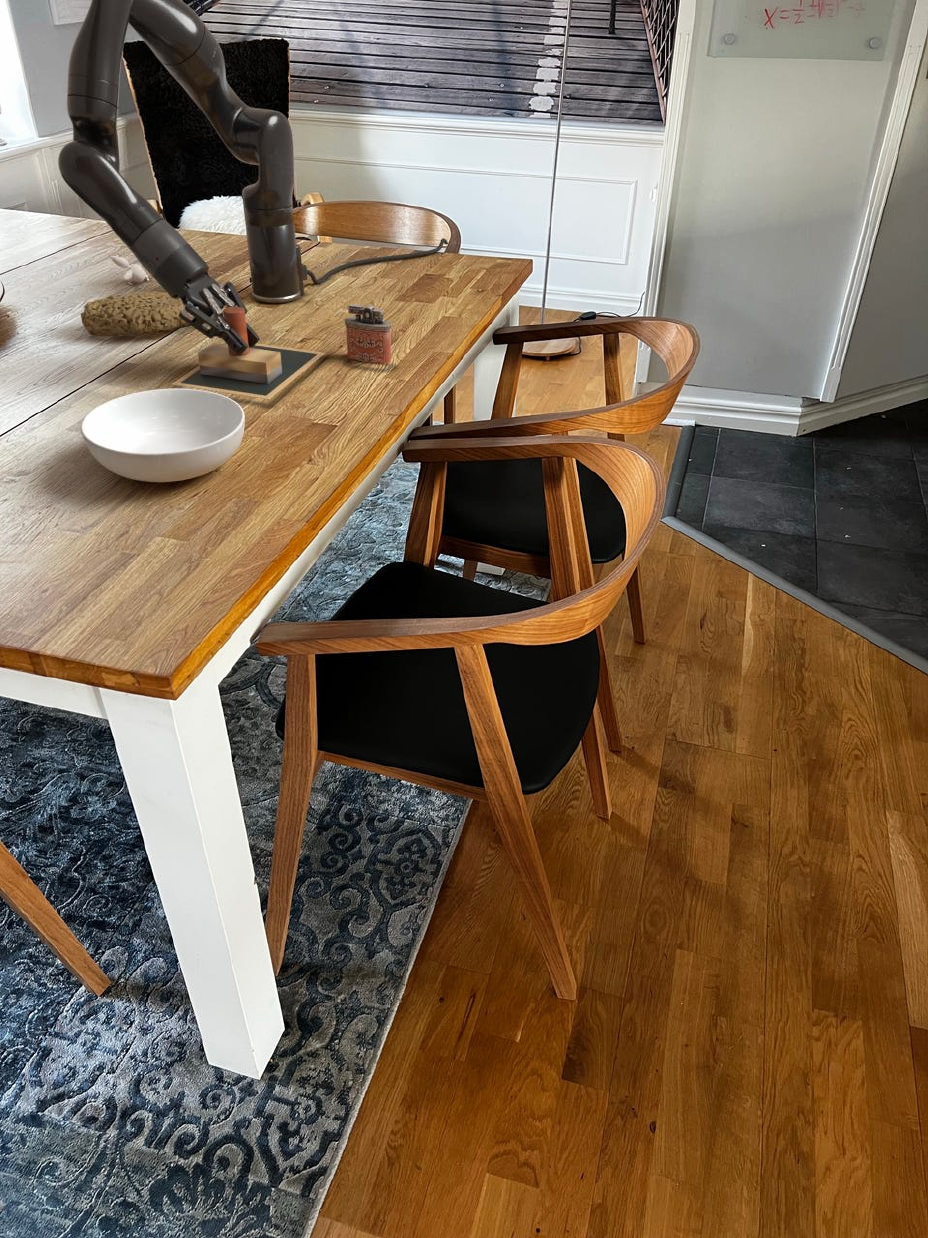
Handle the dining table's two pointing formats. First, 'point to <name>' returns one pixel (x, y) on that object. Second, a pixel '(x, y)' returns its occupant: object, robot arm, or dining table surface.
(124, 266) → the rabbit figurine
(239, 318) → the eraser
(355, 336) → the lighter
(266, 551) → the dining table surface
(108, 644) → the dining table surface
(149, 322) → the sponge
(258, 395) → the board
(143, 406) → the serving bowl
